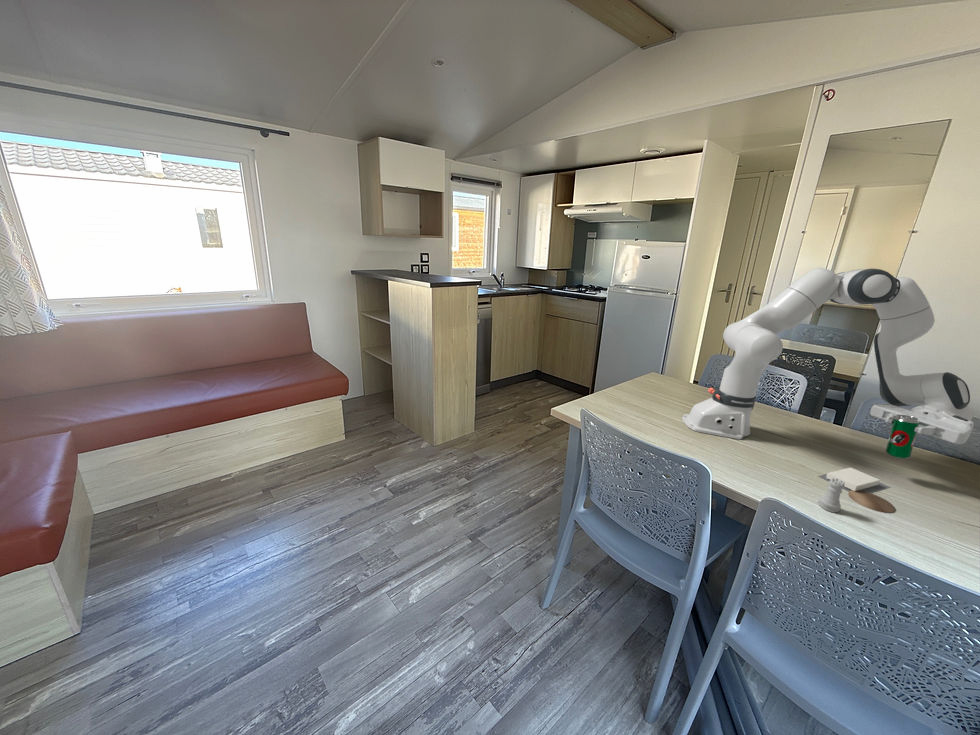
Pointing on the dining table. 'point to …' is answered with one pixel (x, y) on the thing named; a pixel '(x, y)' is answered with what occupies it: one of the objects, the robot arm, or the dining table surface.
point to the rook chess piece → (832, 496)
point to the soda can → (902, 436)
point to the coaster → (871, 501)
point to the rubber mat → (869, 490)
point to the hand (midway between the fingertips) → (902, 425)
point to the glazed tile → (853, 479)
